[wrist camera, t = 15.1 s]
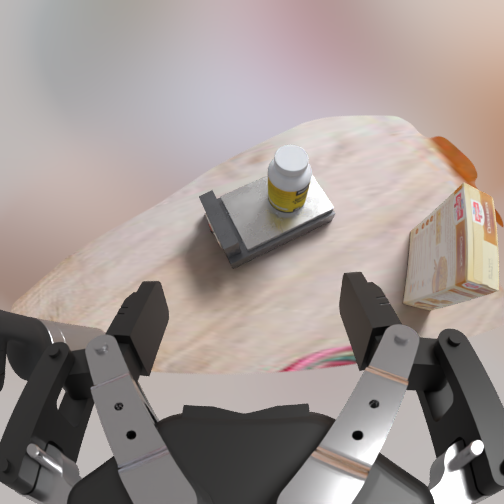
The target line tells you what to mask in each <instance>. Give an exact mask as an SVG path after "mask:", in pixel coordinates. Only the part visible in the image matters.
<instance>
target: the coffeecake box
mask: <svg viewBox="0 0 504 504" xmlns="http://www.w3.org/2000/svg"><path fill="white" fill-rule="evenodd" d="M498 290H499V257H498V238H497V226H496V217H495V209H494V202H493V198H492V197H491V196H489V195H487V194H486V193H483V192H481V191H479V190H477V189H476V188H474V187H472V186H470V185H468V184H466V183H463V184H462V185H461V186H460V187H459V188H458V189H457V190H456V191H455V192H453V193H452V194H451V195H450V196H449V197H448V198H447V199H446V200H445V201H444V202H443V203H442V204H441V205H440V206H438V207H437V208H436V209H435V210H434V211H433V212H432V213H431V214H430V215H429V216H427V217H426V218H425V219H424V220H423V221H422V222H421V223H420V224H418V225H417V226H416V227H415V228H414V229H413V230H411V235H410V248H409V259H408V269H407V278H406V285H405V293H404V299H403V304H407V305H410V306H414V307H418V308H422V309H426V310H430V311H431V310H435V309H439V308H443V307H447V306H450V305H454V304H458V303H461V302H465V301H468V300H471V299H475V298H478V297H481V296H484V295H487V294H490V293H493V292H496V291H498Z"/></svg>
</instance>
